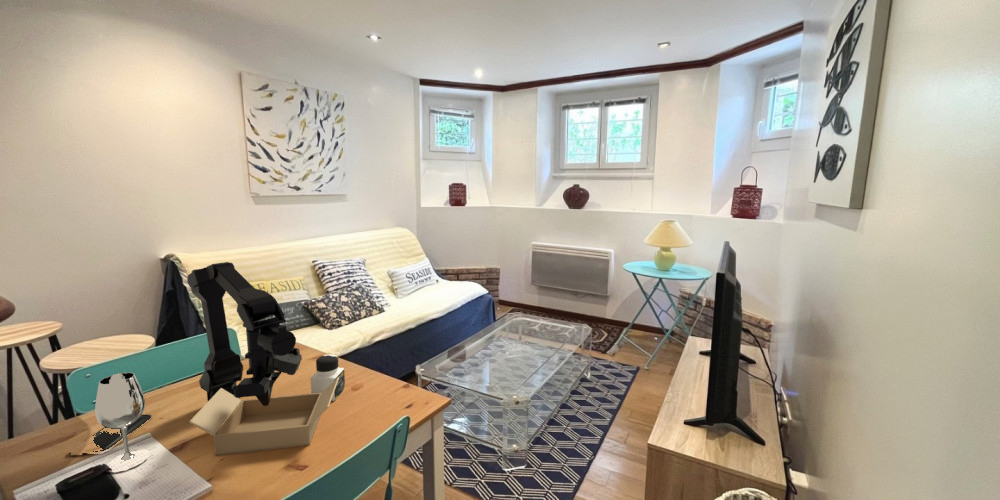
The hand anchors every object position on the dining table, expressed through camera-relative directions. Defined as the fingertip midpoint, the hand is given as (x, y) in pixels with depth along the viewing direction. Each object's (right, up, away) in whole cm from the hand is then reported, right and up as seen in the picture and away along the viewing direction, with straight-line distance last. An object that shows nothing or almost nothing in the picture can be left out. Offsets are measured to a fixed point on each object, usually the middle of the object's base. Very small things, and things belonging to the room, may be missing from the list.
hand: (266, 405), depth 98 cm
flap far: (+13, 0, +3) cm, 14 cm away
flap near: (-11, 0, -2) cm, 11 cm away
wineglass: (-25, -9, -10) cm, 28 cm away
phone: (-37, -7, -1) cm, 38 cm away
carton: (+1, -7, +2) cm, 7 cm away
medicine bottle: (+7, -5, +19) cm, 21 cm away
